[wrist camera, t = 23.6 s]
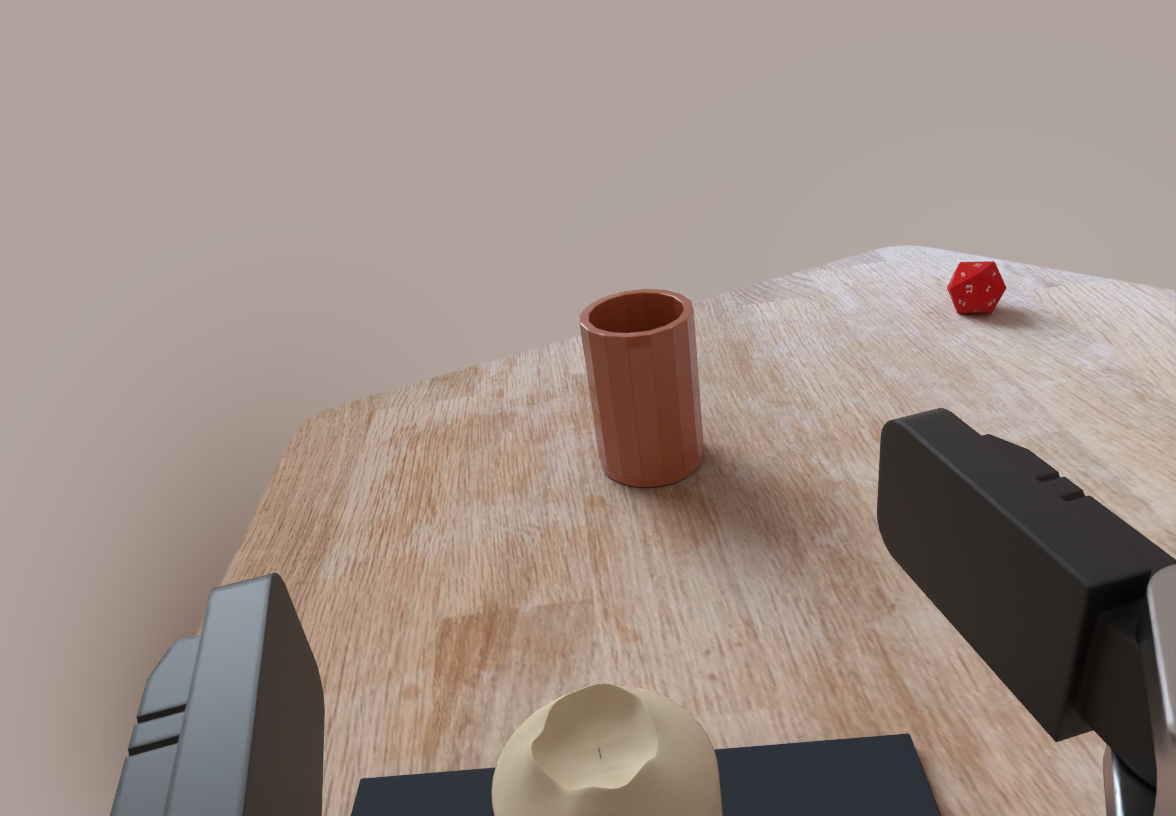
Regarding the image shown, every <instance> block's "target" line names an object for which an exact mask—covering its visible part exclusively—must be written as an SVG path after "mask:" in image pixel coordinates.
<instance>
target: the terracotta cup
mask: <svg viewBox="0 0 1176 816" xmlns="http://www.w3.org/2000/svg"><path fill="white" fill-rule="evenodd" d="M580 329H581V335H582V342H583V349H584V356H585V363H586V370H587V376H588V383H589V390H590V397H591V404H592V411H593V417H594V424H595V431H596V438H597V445H598V451H599V458H600V461H601V466H602V469H603V471H604V472H605V473H606V474H607V475H608V476H609V477H610V478H611V479H613V480H615V481H617V482H619V483H622V484H625V485H629V486H634V487H657V486H663V485H668V484H671V483H675V482H677V481H680V480H682V479H684V478H686V477H688V476H689V475H691V474H692V473H693V472H694V471H696V469H697V468H698V467H699V466H700V464H701V462H702V460H703V455H704V454H703V448H704V445H703V432H702V418H701V404H700V391H699V377H698V364H697V350H696V337H695V323H694V310H693V306H692V302H691V301H690V300H689V299H687V298H686V297H684V296H683V295H681V294H678V293H674V292H671V291H666V290H652V289H641V290H633V291H624V292H620V293H617V294H613V295H610V296H606V297H603V298H601V299H599V300H597V301H595V302H594V303H591V304H590V305H588V306H587V307H586V308H585V309H584V310H583V312H582V313H581V314H580Z"/></svg>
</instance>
